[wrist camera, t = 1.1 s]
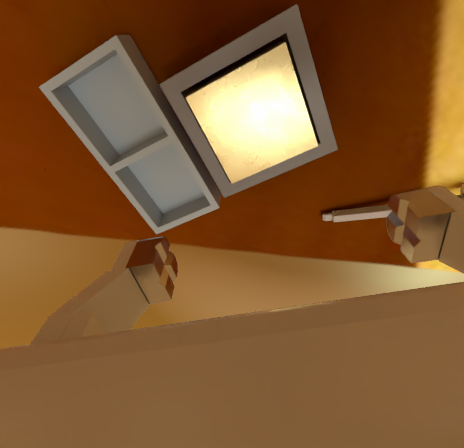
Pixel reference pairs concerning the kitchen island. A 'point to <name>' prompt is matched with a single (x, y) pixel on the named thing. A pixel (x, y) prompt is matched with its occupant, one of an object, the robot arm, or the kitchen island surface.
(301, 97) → the button
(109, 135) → the tray
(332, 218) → the caliper
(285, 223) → the kitchen island surface
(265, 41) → the square frame
